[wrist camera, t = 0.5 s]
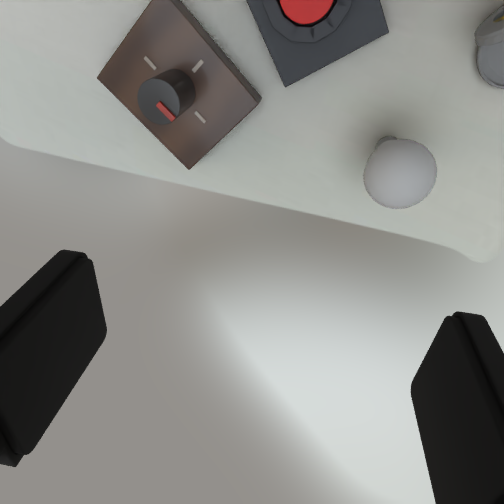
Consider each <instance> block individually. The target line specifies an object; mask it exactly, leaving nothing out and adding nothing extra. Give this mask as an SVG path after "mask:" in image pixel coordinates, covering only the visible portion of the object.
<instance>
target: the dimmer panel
mask: <svg viewBox="0 0 504 504" xmlns="http://www.w3.org/2000/svg"><path fill="white" fill-rule="evenodd" d="M170 69H177V70H180V71H182V72H184V73H185V74H187V75H188V76H189V78H190V79H191V80H192V82H193V84H194V88H195V99H194V102H193V104H192V105H191V107H189V108H188V109H187V110H186V111H185V112H184V113H182V114H181V115H180V116H179V117H178V118H176V119H175V120H174V121H173V122H171V123H169V124H166V125H159V124H155V123H153V122H151V121H150V120H148V119H147V118H146V117H145V116H144V115H143V113H142V112H141V110H140V108H139V105H138V100H137V94H138V90H139V88H140V86H141V84H142V83H143V82H145V81H146V80H148V79H150V78H152V77H154V76H156V75H158V74H160V73H163V72H165V71H167V70H170ZM97 79H98V80H99V81H100V82H101V83H102V84H103V85H104V86H105V87H106V88H107V89H108V90H109V91H110V92H111V93H112V94H113V95H114V96H115V97H116V98H117V99H118V100H119V101H120V102H121V103H122V104H123V105H124V106H125V107H126V108H127V109H128V110H129V111H130V112H131V113H132V114H133V115H134V116H135V117H136V118H137V119H138V120H139V121H140V122H141V123H142V124H143V125H144V126H145V127H146V128H147V129H148V130H149V131H150V132H151V133H152V134H153V135H154V136H155V137H156V138H157V139H158V140H159V141H160V142H161V143H162V144H163V145H164V146H165V147H166V148H167V149H168V150H169V151H170V152H171V153H172V154H173V155H174V156H175V157H176V158H177V159H178V160H179V161H180V162H181V163H182V164H183V165H184V166H185V167H186V168H187V169H188V170H190V169H191V168H192V167H193V166H194V165H195V164H196V163H197V162H198V161H199V160H200V159H201V158H202V157H203V156H204V155H206V154H207V153H208V152H209V151H210V150H211V149H212V148H213V147H214V146H215V145H216V144H217V143H218V142H219V141H220V140H221V139H222V138H223V137H224V136H226V135H227V134H228V133H229V132H230V131H231V130H232V129H233V128H234V127H235V126H236V125H237V124H238V123H239V122H240V121H241V120H242V119H243V118H244V117H246V116H247V115H248V114H249V113H250V112H251V111H252V110H253V109H254V108H255V107H256V106H257V105H258V104H259V102H260V101H261V99H262V98H261V96H260V95H259V94H258V93H257V92H256V91H255V89H254V88H253V87H252V86H251V85H250V83H249V82H248V81H247V80H246V79H245V77H244V76H243V75H242V74H241V73H240V71H239V70H238V69H237V68H236V67H235V65H234V64H233V63H232V62H231V61H230V60H229V58H228V57H227V56H226V55H225V54H224V52H223V51H222V50H221V49H220V48H219V46H218V45H217V44H216V43H215V42H214V40H213V39H212V38H211V37H210V36H209V34H208V33H207V32H206V31H205V30H204V29H203V27H202V26H201V25H200V24H199V23H198V21H197V20H196V19H195V18H194V17H193V15H192V14H191V13H190V12H189V11H188V9H187V8H186V7H185V6H184V5H183V3H182V2H181V1H180V0H152V1H151V2H150V3H149V5H148V6H147V8H146V9H145V10H144V12H143V13H142V15H141V16H140V17H139V19H138V20H137V22H136V23H135V24H134V26H133V27H132V29H131V30H130V32H129V33H128V34H127V36H126V37H125V39H124V40H123V41H122V43H121V44H120V46H119V47H118V48H117V50H116V51H115V53H114V54H113V55H112V57H111V58H110V60H109V61H108V63H107V64H106V65H105V67H104V68H103V70H102V71H101V72H100V74H99V75H98V77H97Z"/></svg>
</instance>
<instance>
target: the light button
mask: <svg viewBox="0 0 504 504" xmlns="http://www.w3.org/2000/svg"><path fill="white" fill-rule="evenodd" d="M332 3H333V0H280V4H281V7H282V9H283V11H284V12H285V14H286V15H287V16H288V17H289V18H290V19H291V20H293V21H295V22H297V23H300V24H309V23H313V22H315V21H317V20H319V19H321V18H322V17H323V16H324V15H325V14H326V13H327V11H328V10H329V9H330V7H331V5H332Z"/></svg>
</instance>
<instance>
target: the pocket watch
mask: <svg viewBox="0 0 504 504" xmlns="http://www.w3.org/2000/svg"><path fill="white" fill-rule="evenodd" d="M475 41H476V43H477V45H478V46H479V48H478V51H477V67H478V70H479V73H480V75H481V76H482V77H483V79H484V80H485V81H486V82H487V83H488V84H490V85H492V86H495V87H498V88H503V89H504V6H502V7H501V8H500V9H498V10H497V11H496V12H494V13H493V14H491V15H490V16H489V17H488V18H487V19H486V20H485V21H484V22H483V23H482V24H481V25H480V26H479V27H478V28H477V29H476V31H475Z"/></svg>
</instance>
